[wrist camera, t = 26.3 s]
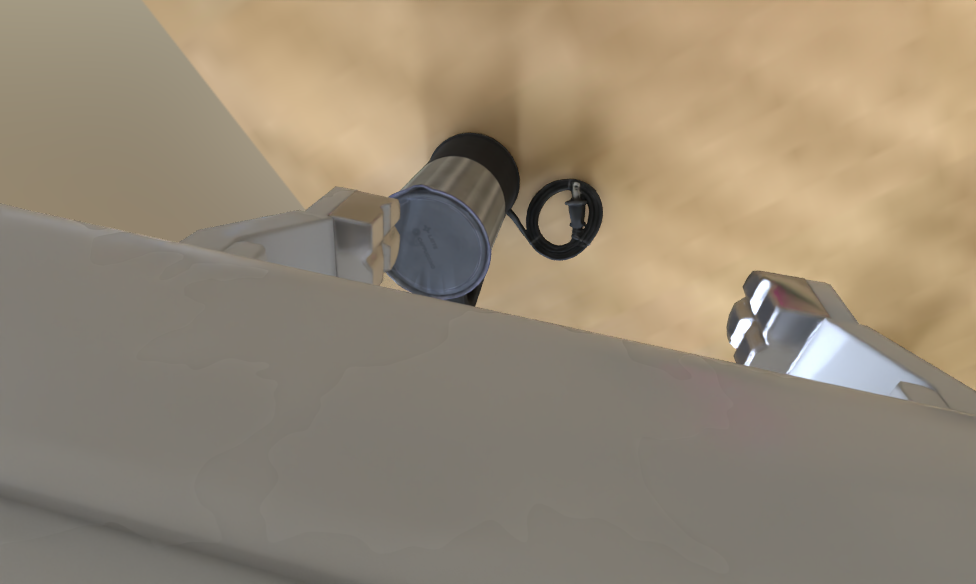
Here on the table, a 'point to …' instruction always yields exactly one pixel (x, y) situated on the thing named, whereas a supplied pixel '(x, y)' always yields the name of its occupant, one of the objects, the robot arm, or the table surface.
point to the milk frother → (474, 218)
